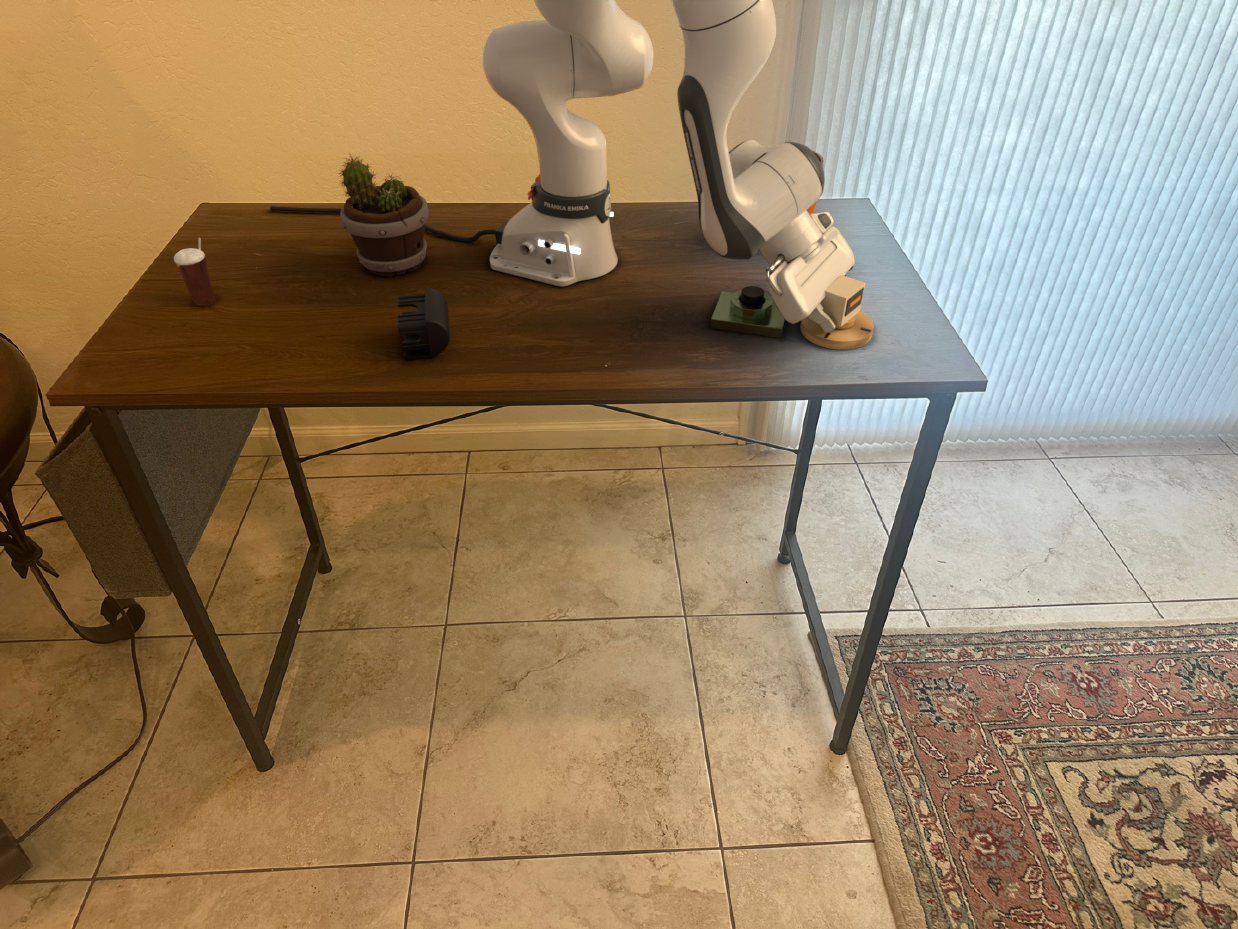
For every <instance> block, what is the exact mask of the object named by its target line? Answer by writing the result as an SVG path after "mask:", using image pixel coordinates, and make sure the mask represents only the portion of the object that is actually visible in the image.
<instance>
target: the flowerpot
mask: <svg viewBox="0 0 1238 929" xmlns="http://www.w3.org/2000/svg"><path fill="white" fill-rule="evenodd" d="M348 155H349V158H347V157H344V159H345V161H343V165H341V167H340V169H339V172H337V174H339V177H338V178H340V179H341V180H340V182H339V185H340V187H342V189H345V191H344V193H343V194H342V195H345V196H344V197H347V199H346V200H345V203H344V204H343V206H342V208H340V209H341V213H339V214H340V215H339V216H340V222H341V226H342V228H343V229H344V231H346V233H349V234H350V237H351V238H352V240H353V242H354V244H355V246H356V248H357V249H356V256H357V258H358V261H359V264H361V266H363V267H364V268H366V270H367V271H368V272H370V273H372V274H374V275H379V276H381V277H393V276H402V275H405V274H406V273H407V272H409V273H411V272H413V271H415V270H417V269H418V268H420V266H422V265H423V262H424V260H425V259H426V256H427V250H428V249H427V248H428V244H427V241H426V240H425V238H424V237H425V230H424V229H425V225H426V223H427V222H428V219H429V216H430V211H429V205H428V201H427V200H426V199H425V197H423V196H422V195H420V193H419V191H418V190H417V189H415V188H414V187H413V186H410V185H405V184H404V183H405V181H403V180H402V179H401V177H400V175H397V176H395V175H394V176H393V174H389V173H387V176H385V178H384V179H382V181H384V182H383V183H382V184H381V185H379V183H376V181H377V180H375V181H373V180H374V179H376V175H377V173H375V172H374V171H375V170H372V169H370V168H372V166H371V163H368V164H364V163H363V161H364V158H363V159H362V158H360V157H361V155H358V156H355V157H353V156H352V154H351V153H350V152H348ZM359 158H360V159H359ZM342 167H344V168H342ZM389 178H390V179H389Z"/></svg>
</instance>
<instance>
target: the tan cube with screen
mask: <svg viewBox="0 0 1238 929" xmlns="http://www.w3.org/2000/svg"><path fill="white" fill-rule="evenodd" d="M865 288H866V282H863V281H861V280H857V279H855V278H852V277H849V276H846V275H845V276H843V275H842V276H840V277H839V278H838V279H836V280H835V281H834V282H832V283H831V284H830V285H829V286H828V287H827V288H826V289H825V290H824V291H825V293H826V297H825V298H824V299H823V300H822V301H821V302H820V304H821V306H822V307H823V310H822V311H823V312H824V313H826V314H827V315H828V316H829V317H830V316H833V317H834V318H835V321H837V326H836V327H835V328H836V329H845V328H849V327H851V326H853V324H854V322H855V315H856V314H857V313H858V312H860V311H861V309H862V308H861V307H862V302H863V298H864V292H865Z"/></svg>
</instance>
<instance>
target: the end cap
mask: <svg viewBox="0 0 1238 929" xmlns="http://www.w3.org/2000/svg"><path fill="white" fill-rule="evenodd" d="M397 306H398V308H409V307H412V308H416V310H412V311H403V312H401V314H400V313H399V314H397V330H398V331H397V332H398V335H399V336H400V337H402V336H403V340H402V341H401V342H400V346H401V350H402V353H403V358H404V360H406V361H415V360H425V359H426V360H427V359H432V358H435V357H437V356H439V355H440V354H441V353H442V352H443V351H445V350H446V349H447V347H448V345H449V343H450V323H449V321H450V320H449V303H448V300H447V298H446V296H445V295H444V294H443V293H442V292H441V291H439V290H437V289H435V288H432V287H424V293H420V294H410V295H409V294H408V295H398V299H397Z"/></svg>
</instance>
